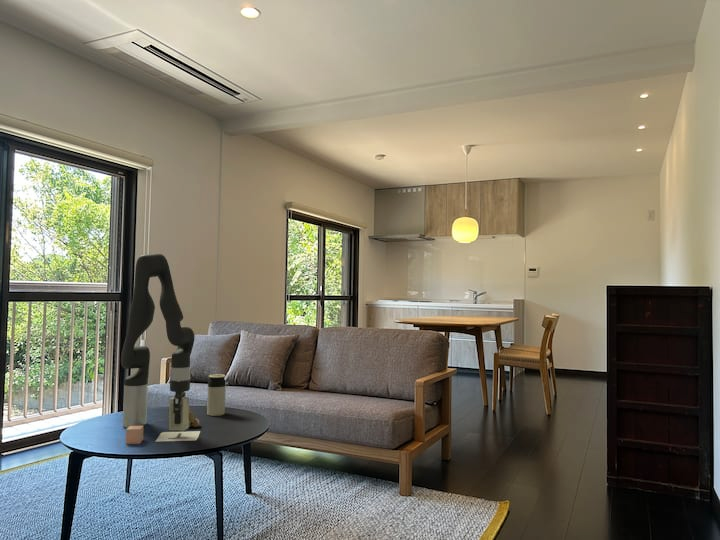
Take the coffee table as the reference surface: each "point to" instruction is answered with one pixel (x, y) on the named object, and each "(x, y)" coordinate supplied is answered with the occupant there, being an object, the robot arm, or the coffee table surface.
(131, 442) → the terracotta block
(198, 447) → the coffee table surface
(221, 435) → the coffee table surface
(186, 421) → the skincare box
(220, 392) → the travel mug
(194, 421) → the ceramic sculpture
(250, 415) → the coffee table surface
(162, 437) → the letter mat
